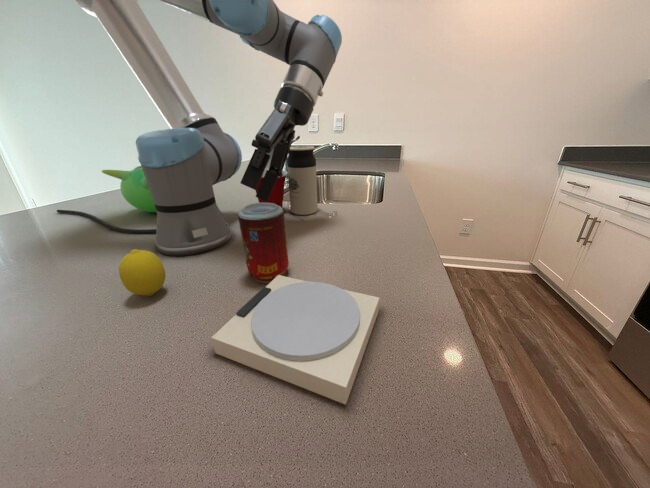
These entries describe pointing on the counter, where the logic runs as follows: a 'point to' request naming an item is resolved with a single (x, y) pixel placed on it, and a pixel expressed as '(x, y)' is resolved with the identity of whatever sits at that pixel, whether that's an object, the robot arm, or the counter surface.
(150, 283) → the lemon
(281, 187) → the plastic cup
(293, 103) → the robot arm
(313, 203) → the travel mug
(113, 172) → the toy bird
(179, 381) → the counter surface
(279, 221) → the soda can
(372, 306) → the kitchen scale
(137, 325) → the counter surface
